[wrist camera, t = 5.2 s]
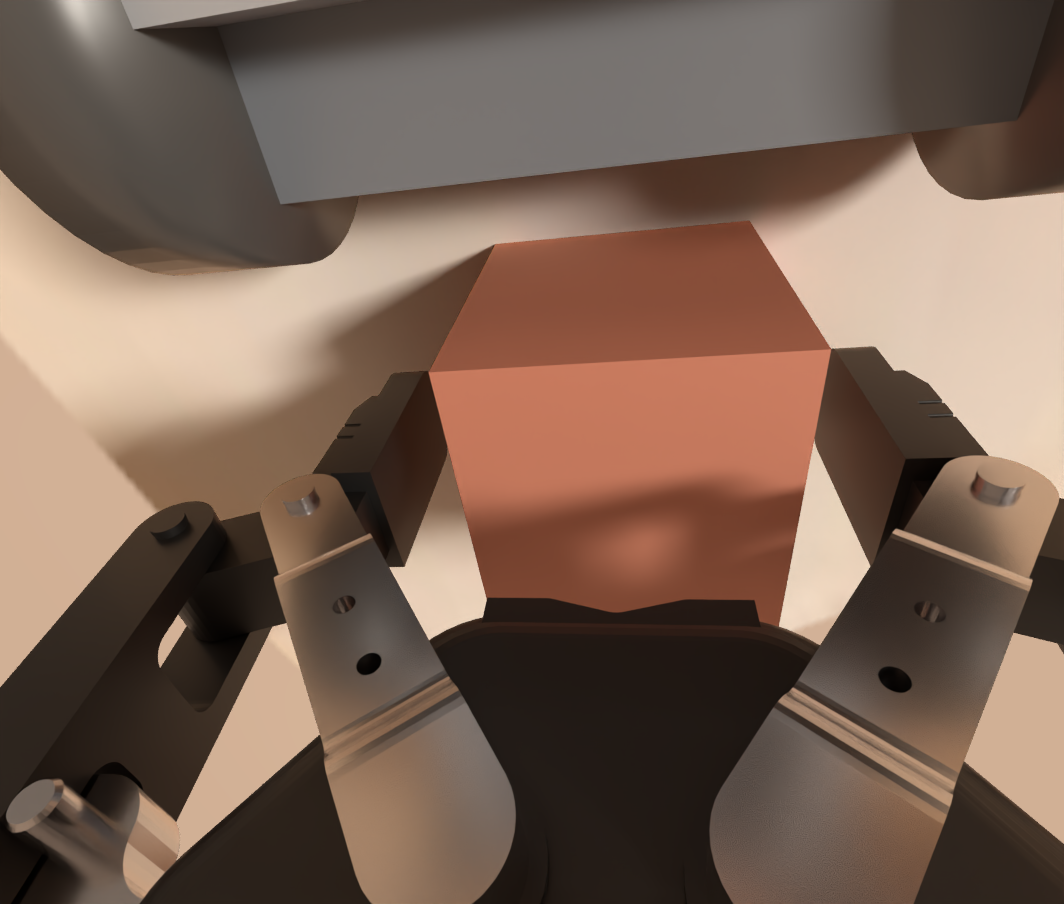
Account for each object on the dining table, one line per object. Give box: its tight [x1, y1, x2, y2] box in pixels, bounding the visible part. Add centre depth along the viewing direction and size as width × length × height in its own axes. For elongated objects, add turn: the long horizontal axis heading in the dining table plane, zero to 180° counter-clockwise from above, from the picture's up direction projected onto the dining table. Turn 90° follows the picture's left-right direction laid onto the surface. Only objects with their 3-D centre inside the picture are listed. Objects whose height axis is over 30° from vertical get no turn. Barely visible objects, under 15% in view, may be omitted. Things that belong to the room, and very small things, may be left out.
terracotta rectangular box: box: [429, 221, 831, 627], centre depth 11 cm, size 5×6×6 cm
